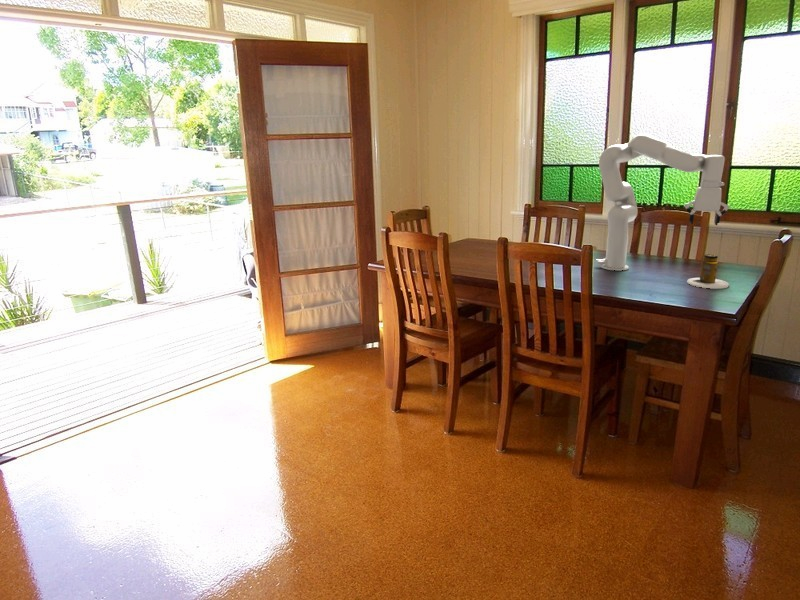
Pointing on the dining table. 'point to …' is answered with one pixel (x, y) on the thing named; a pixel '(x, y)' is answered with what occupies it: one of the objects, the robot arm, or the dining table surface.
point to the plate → (719, 285)
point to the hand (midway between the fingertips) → (703, 224)
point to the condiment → (708, 270)
